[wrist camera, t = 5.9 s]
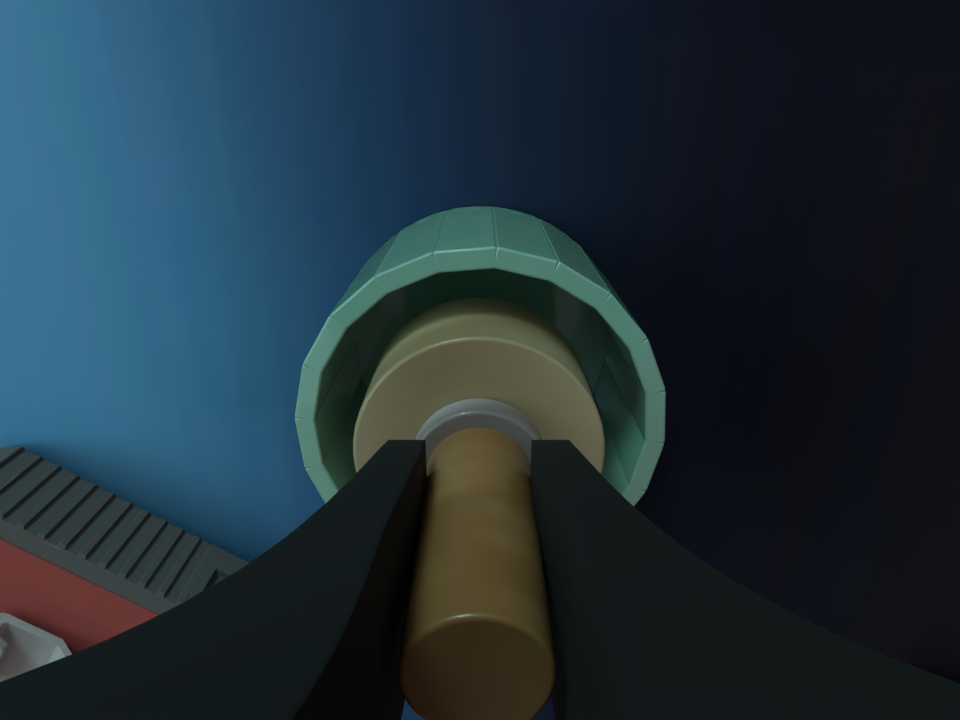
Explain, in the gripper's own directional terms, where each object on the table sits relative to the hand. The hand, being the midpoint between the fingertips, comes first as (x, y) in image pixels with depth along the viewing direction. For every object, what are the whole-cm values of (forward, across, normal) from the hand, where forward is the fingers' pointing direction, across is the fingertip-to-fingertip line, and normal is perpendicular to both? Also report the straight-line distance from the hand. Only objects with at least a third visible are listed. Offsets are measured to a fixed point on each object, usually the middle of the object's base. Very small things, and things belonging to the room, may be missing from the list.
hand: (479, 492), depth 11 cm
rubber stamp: (+4, 0, 0) cm, 4 cm away
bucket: (+7, 0, 0) cm, 7 cm away
